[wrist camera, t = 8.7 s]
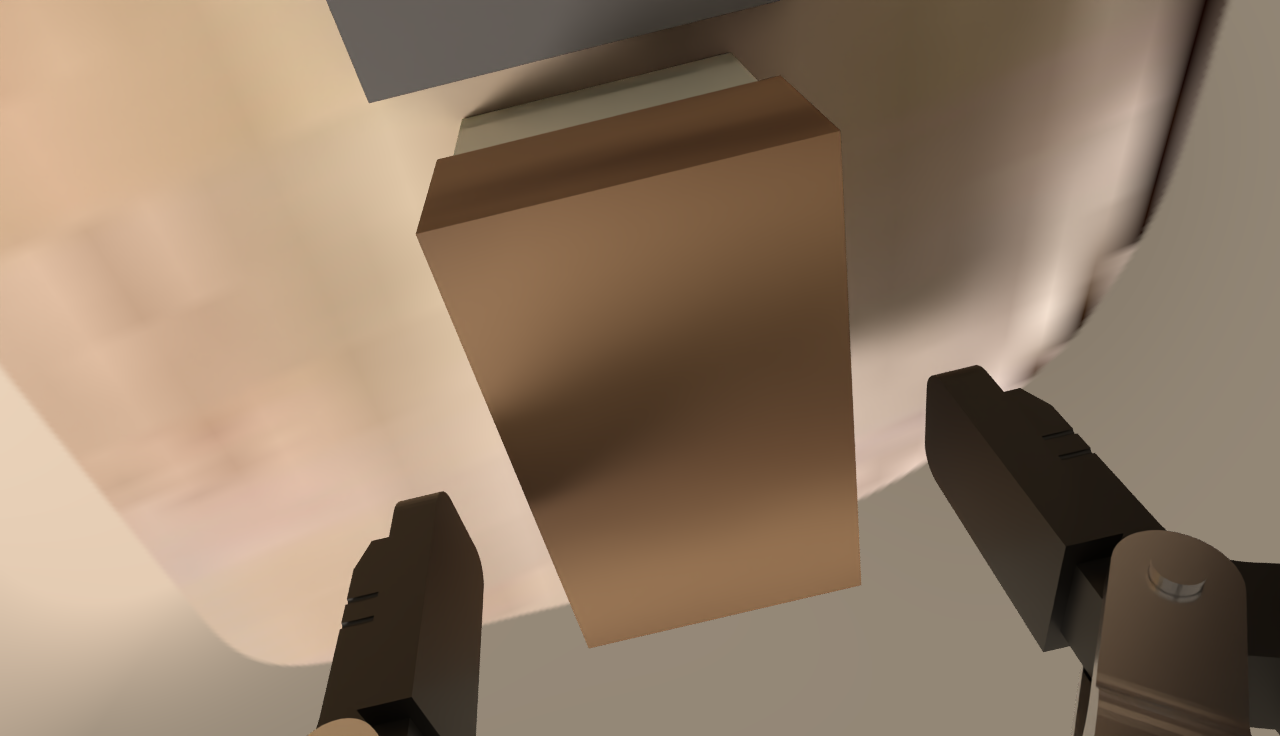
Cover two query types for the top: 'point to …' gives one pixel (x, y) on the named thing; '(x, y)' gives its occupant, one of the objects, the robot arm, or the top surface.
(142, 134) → the top surface
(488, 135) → the dish
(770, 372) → the lid
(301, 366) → the top surface
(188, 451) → the top surface
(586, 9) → the mat
